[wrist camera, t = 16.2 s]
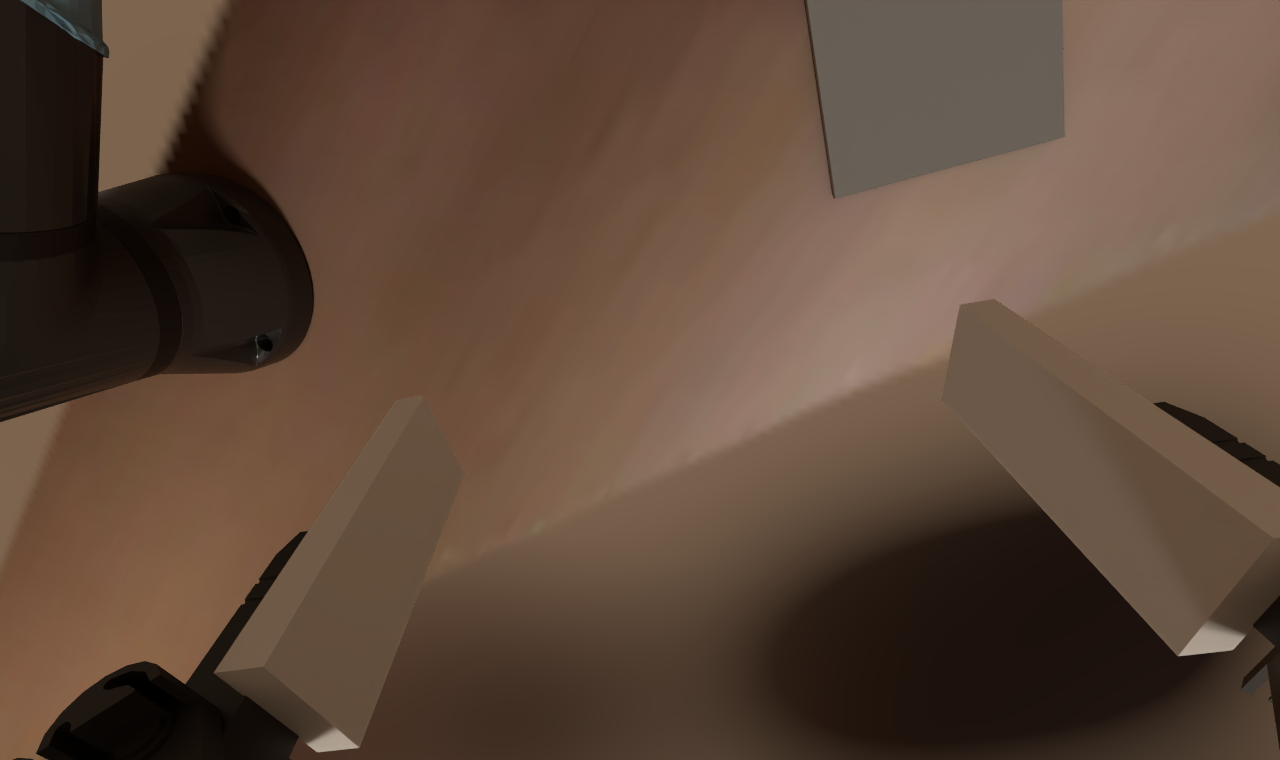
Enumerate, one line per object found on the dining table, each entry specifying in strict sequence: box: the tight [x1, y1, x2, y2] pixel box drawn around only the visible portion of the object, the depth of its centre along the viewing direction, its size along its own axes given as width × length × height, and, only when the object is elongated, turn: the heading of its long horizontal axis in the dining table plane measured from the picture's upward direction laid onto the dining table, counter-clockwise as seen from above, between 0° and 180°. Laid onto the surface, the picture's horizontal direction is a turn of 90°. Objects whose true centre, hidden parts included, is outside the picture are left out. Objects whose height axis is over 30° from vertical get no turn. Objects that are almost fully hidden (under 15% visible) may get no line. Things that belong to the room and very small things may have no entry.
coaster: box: [805, 0, 1065, 199], centre depth 27 cm, size 12×12×1 cm
